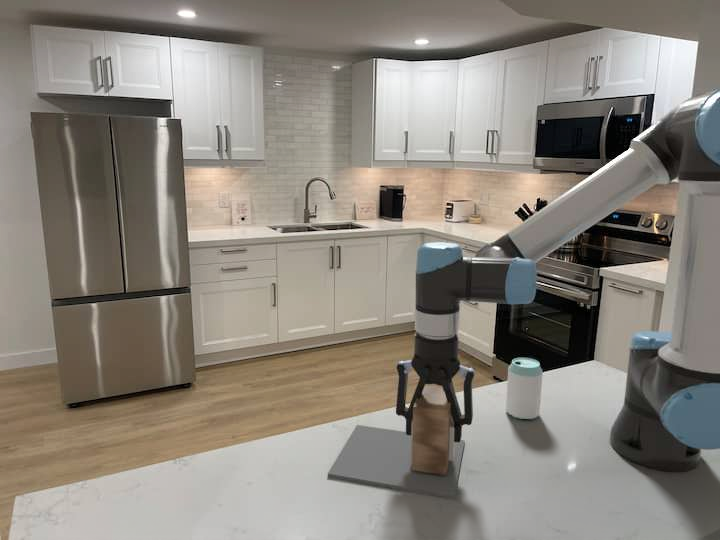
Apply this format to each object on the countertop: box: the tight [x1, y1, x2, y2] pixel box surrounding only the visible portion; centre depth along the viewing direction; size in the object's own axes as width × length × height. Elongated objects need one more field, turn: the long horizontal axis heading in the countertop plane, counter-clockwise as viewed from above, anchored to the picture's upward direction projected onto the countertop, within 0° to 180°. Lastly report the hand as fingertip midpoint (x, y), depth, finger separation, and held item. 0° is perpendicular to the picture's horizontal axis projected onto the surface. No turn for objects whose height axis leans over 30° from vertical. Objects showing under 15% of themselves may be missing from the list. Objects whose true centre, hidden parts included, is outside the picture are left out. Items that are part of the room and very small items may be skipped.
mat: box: [327, 424, 466, 500], centre depth 97 cm, size 22×18×1 cm
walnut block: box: [412, 385, 453, 475], centre depth 94 cm, size 6×9×12 cm, turn 164°
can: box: [505, 357, 544, 420], centre depth 114 cm, size 7×7×12 cm
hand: (432, 453), depth 95 cm, fingers open, 6 cm apart
